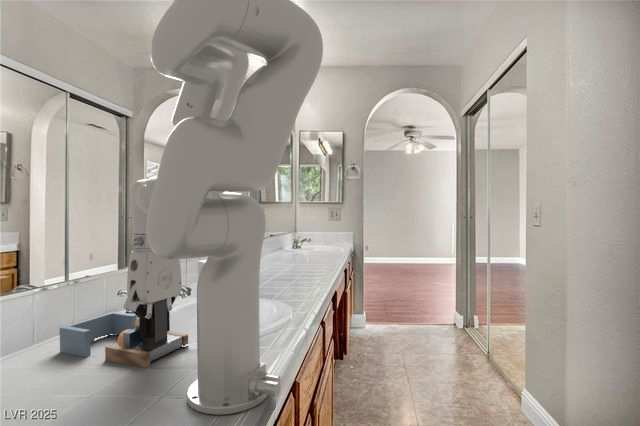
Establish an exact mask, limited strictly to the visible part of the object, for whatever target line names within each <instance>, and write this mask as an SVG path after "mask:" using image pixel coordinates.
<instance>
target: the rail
mask: <svg viewBox="0 0 640 426" xmlns="http://www.w3.org/2000/svg"><path fill="white" fill-rule="evenodd" d="M167 334H168V335H175V336H181V337H182V345H183V346H185V345H186V344H188V345H189V334H187V333H182V332H176V331H175V332H174V331H168V332H167ZM104 349H105V350H104V353H105V358H104V359H105V361H107V362H114V363H118V364H122V365H126V366H127V365H128V366H133V367H139V368H141V369H146V368H148V367H150V366H151V362H150V352H146V351H141V350H135V349H130V348H125V347H119V345H113V344H109V345H107V346H105V347H104Z"/></svg>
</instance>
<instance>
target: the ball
mask: <svg viewBox="0 0 640 426" xmlns="http://www.w3.org/2000/svg"><path fill="white" fill-rule="evenodd" d="M129 330H131V329H129ZM129 330H125V331H123V332H126V331H129ZM123 332H122V333H121V334H120V335H119V336H118V337H117V340H116V341H117V346H119V347H124V341H123Z"/></svg>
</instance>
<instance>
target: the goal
mask: <svg viewBox="0 0 640 426" xmlns="http://www.w3.org/2000/svg"><path fill="white" fill-rule="evenodd" d="M137 318H138V317H137V316H136V314H135V313H129V312H128V313H126V312H119V311H110V312H108V313H104V314H100V315H97V316H94V317H90V318H87V319H83V320H81V321H77V322H74V323H70V324H67V325H64V326H59V352H60V353H62V354H63V353H64V354H68V355H73V356H78V357H80V358H81V357H83V358H86V357H88V356H89V357H90V356H91V344H92V343H94V342H93V341H94V339H95V338H98V337H101V336H105V335H110V334H116V335H120V334H121V333H122V332H123V331H125V330H129V329H131V330H132V329H134V328H136V327H135V325H134V323H135V320H136V319H137ZM116 335H115V336H116Z"/></svg>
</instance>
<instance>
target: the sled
mask: <svg viewBox="0 0 640 426" xmlns="http://www.w3.org/2000/svg"><path fill="white" fill-rule="evenodd" d="M145 306H146V305H144V309H145ZM151 317H153V318H154V337H153V338H151V339H149V338H144V337H140V335H139V317H137V319H136V320H135V323H134V325H135V327H136V328H134V329H132V330H129V331H126V332H123V341H124V347H125V348H130V349H135V350H141V351H146V352H150V363H151V362H153V361H155V360H158V359H159V358H161V357H163V356H166V355H167V354H170V353H171V352H173V351H176V350H177V349H179V348H180V347H182V337H181V336H175V335H168V334H167V301H166V300H161V301H158V302H154V303H153V304H152V315H151ZM180 349H181V348H180Z"/></svg>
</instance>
